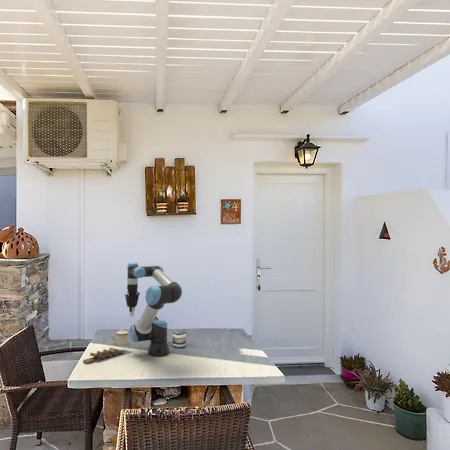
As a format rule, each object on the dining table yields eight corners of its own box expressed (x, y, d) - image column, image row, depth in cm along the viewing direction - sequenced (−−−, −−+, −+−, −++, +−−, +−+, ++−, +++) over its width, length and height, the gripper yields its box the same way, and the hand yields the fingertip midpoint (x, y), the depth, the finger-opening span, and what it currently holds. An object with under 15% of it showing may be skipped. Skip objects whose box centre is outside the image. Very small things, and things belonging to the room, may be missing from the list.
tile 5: (96, 356, 284) (83, 360, 276) (100, 357, 281) (87, 361, 273) (96, 359, 284) (83, 362, 276) (100, 360, 281) (87, 364, 273)
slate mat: (133, 353, 300) (133, 352, 300) (98, 363, 276) (98, 362, 276) (124, 350, 306) (124, 349, 306) (88, 360, 282) (88, 359, 282)
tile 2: (114, 351, 296) (103, 349, 289) (119, 352, 293) (108, 350, 286) (113, 353, 296) (102, 351, 288) (118, 355, 293) (107, 353, 285)
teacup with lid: (129, 343, 325) (129, 327, 325) (125, 346, 316) (126, 330, 316) (114, 342, 326) (114, 327, 326) (110, 345, 317) (110, 330, 317)
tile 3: (108, 353, 292) (97, 350, 284) (113, 354, 289) (102, 352, 282) (107, 355, 291) (96, 353, 284) (112, 357, 288) (101, 355, 281)
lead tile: (124, 353, 297) (113, 351, 289) (119, 352, 300) (108, 350, 292) (124, 351, 297) (114, 349, 290) (120, 349, 300) (109, 347, 293)
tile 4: (102, 354, 288) (90, 352, 280) (106, 356, 285) (95, 354, 277) (101, 357, 287) (89, 355, 280) (106, 358, 284) (94, 356, 277)
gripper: (135, 282, 316) (135, 313, 316) (122, 284, 306) (121, 316, 306) (142, 283, 312) (142, 315, 312) (129, 285, 301) (128, 318, 301)
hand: (131, 315), depth 309 cm, fingers closed
